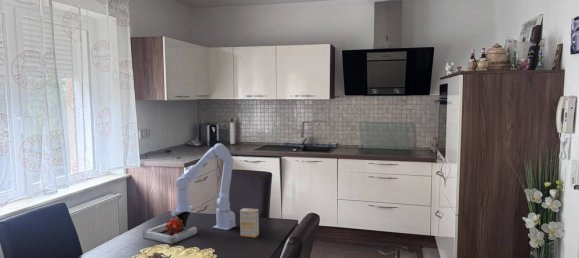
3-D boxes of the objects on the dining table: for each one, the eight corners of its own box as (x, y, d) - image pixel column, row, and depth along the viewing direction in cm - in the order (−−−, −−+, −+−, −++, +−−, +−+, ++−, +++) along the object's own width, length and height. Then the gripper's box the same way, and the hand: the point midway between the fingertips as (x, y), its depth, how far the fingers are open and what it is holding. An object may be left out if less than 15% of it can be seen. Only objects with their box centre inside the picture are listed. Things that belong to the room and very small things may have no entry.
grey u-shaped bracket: (196, 233, 193) (196, 227, 193) (171, 244, 178) (171, 237, 178) (169, 227, 202) (168, 222, 202) (142, 237, 187) (142, 231, 187)
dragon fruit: (177, 232, 199) (175, 243, 188) (163, 224, 197) (160, 235, 185) (187, 219, 199) (185, 230, 187) (173, 211, 197) (170, 221, 185)
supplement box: (259, 234, 190) (259, 208, 189) (255, 238, 186) (255, 211, 185) (244, 233, 193) (243, 207, 192) (239, 236, 188) (239, 210, 188)
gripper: (186, 196, 205) (187, 221, 206) (166, 202, 193) (167, 229, 193) (197, 198, 202) (197, 223, 203) (176, 204, 189) (177, 231, 190)
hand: (183, 226), depth 198 cm, fingers closed
